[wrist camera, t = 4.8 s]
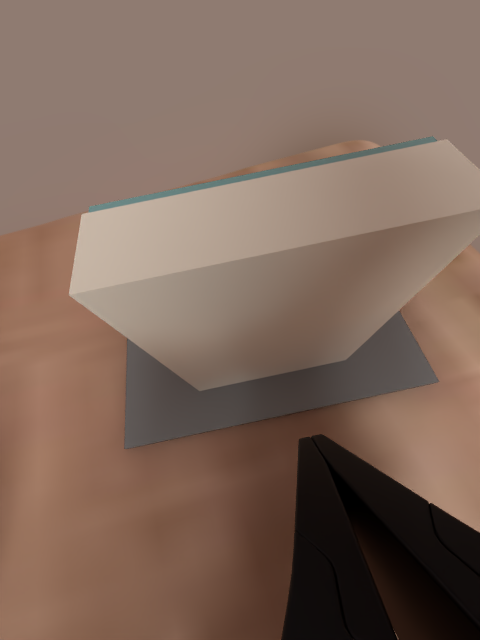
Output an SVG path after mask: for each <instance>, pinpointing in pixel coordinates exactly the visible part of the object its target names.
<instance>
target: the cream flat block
mask: <svg viewBox="0 0 480 640" xmlns="http://www.w3.org/2000/svg"><path fill="white" fill-rule="evenodd" d="M479 235H480V170H479V169H478V168H477V167H476V166H475V165H474V164H473V163H472V162H471V161H470V160H468V159H467V158H466V157H465V156H464V155H463V154H462V153H461V152H460V151H459V150H458V149H457V148H455V147H454V146H453V145H452V144H451V143H450V142H449V141H448V140H447V139H446V140H441V141H437V140H436V139H435V138H434V137H428V138H423V139H418V140H413V141H408V142H403V143H398V144H393V145H389V146H383V147H378V148H374V149H369V150H364V151H359V152H354V153H349V154H344V155H339V156H334V157H330V158H325V159H320V160H315V161H310V162H305V163H300V164H295V165H291V166H286V167H281V168H276V169H271V170H266V171H261V172H256V173H251V174H247V175H242V176H237V177H232V178H227V179H222V180H217V181H212V182H207V183H203V184H198V185H193V186H188V187H183V188H178V189H173V190H168V191H163V192H159V193H154V194H149V195H144V196H139V197H135V198H129V199H125V200H120V201H115V202H110V203H105V204H100V205H95V206H90V207H89V213H85V214H82V216H81V222H80V229H79V235H78V241H77V247H76V253H75V260H74V266H73V272H72V278H71V284H70V291H69V295H70V296H71V297H72V298H74V299H75V300H76V301H78V302H79V303H80V304H82V305H83V306H85V307H86V308H87V309H89V310H90V311H91V312H93V313H94V314H95V315H97V316H98V317H99V318H101V319H102V320H104V321H105V322H106V323H108V324H109V325H110V326H112V327H113V328H114V329H116V330H117V331H118V332H120V333H121V334H123V335H124V336H125V337H127V338H128V339H129V340H131V341H132V342H133V343H135V344H136V345H137V346H139V347H140V348H141V349H143V350H144V351H146V352H147V353H148V354H150V355H151V356H152V357H154V358H155V359H156V360H158V361H159V362H160V363H162V364H163V365H165V366H166V367H167V368H169V369H170V370H171V371H173V372H174V373H175V374H177V375H178V376H179V377H181V378H182V379H184V380H185V381H186V382H188V383H189V384H190V385H192V386H193V387H194V388H196V389H197V390H198V391H203V390H207V389H212V388H217V387H221V386H226V385H231V384H235V383H240V382H245V381H250V380H254V379H259V378H264V377H268V376H273V375H278V374H283V373H287V372H292V371H297V370H301V369H306V368H311V367H316V366H320V365H325V364H330V363H334V362H339V361H344V360H346V359H347V358H349V357H350V356H351V355H352V354H353V353H354V352H355V351H356V350H357V349H358V348H359V347H360V346H361V345H362V344H363V343H365V342H366V341H367V340H368V339H369V338H370V337H371V336H372V335H373V334H374V333H375V332H376V331H377V330H378V329H380V328H381V327H382V326H383V325H384V324H385V323H386V322H387V321H388V320H389V319H390V318H391V317H392V316H393V315H394V314H396V313H397V312H398V311H399V310H400V309H401V308H402V307H403V306H404V305H405V304H406V303H407V302H408V301H409V300H411V299H412V298H413V297H414V296H415V295H416V294H417V293H418V292H419V291H420V290H421V289H422V288H423V287H424V286H426V285H427V284H428V283H429V282H430V281H431V280H432V279H433V278H434V277H435V276H436V275H437V274H438V273H439V272H440V271H442V270H443V269H444V268H445V267H446V266H447V265H448V264H449V263H450V262H451V261H452V260H453V259H454V258H455V257H457V256H458V255H459V254H460V253H461V252H462V251H463V250H464V249H465V248H466V247H467V246H468V245H469V244H470V243H471V242H473V240H475V239H476V238H477V237H478V236H479Z"/></svg>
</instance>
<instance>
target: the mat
mask: <svg viewBox="0 0 480 640" xmlns="http://www.w3.org/2000/svg"><path fill="white" fill-rule="evenodd" d="M436 382H439V380H438V379H437V377H436V375H435V373H434V371H433V370H432V368H431V366H430V364H429V363H428V361H427V359H426V357H425V356H424V354H423V352H422V350H421V349H420V347H419V345H418V343H417V341H416V340H415V338H414V336H413V334H412V333H411V331H410V329H409V327H408V326H407V324H406V322H405V320H404V319H403V317H402V315H401V313H400V311H398V312H397V313H396V314H394V315H393V316H392V317H391V318H390V319H389V320H388V321H387V322H386V323H385V324H384V325H383V326H382V327H381V328H380V329H378V330H377V331H376V332H375V333H374V334H373V335H372V336H371V337H370V338H369V339H368V340H367V341H366V342H365V343H363V344H362V345H361V346H360V347H359V348H358V349H357V350H356V351H355V352H354V353H353V354H352V355H351V356H350V357H349V358H347V359H346V360H344V361H339V362H334V363H330V364H325V365H320V366H316V367H311V368H306V369H301V370H297V371H292V372H287V373H283V374H278V375H273V376H268V377H264V378H259V379H254V380H250V381H245V382H240V383H235V384H231V385H226V386H221V387H217V388H212V389H207V390H203V391H198V390H197V389H196V388H194V387H193V386H192V385H190V384H189V383H188V382H186V381H185V380H184V379H182V378H181V377H179V376H178V375H177V374H175V373H174V372H173V371H171V370H170V369H169V368H167V367H166V366H165V365H163V364H162V363H160V362H159V361H158V360H156V359H155V358H154V357H152V356H151V355H150V354H148V353H147V352H146V351H144V350H143V349H141V348H140V347H139V346H137V345H136V344H135V343H133V342H132V341H131V340H129V339H128V338H127V371H126V409H125V447H124V449H129V448H134V447H138V446H143V445H148V444H152V443H157V442H162V441H166V440H171V439H176V438H180V437H185V436H190V435H194V434H199V433H204V432H208V431H213V430H218V429H222V428H227V427H232V426H236V425H241V424H246V423H251V422H255V421H260V420H265V419H269V418H274V417H279V416H283V415H288V414H293V413H297V412H302V411H307V410H311V409H316V408H321V407H325V406H330V405H335V404H339V403H344V402H349V401H353V400H358V399H363V398H367V397H372V396H377V395H381V394H386V393H391V392H395V391H400V390H405V389H410V388H414V387H419V386H424V385H428V384H433V383H436Z"/></svg>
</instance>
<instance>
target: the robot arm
mask: <svg viewBox="0 0 480 640" xmlns="http://www.w3.org/2000/svg"><path fill="white" fill-rule="evenodd" d="M395 632H396V634H397V636H398V638H399V640H480V532H478V531H476V530H474V529H473V528H471V527H469V526H468V525H466V524H465V523H463V522H461V521H460V520H458V519H456V518H455V517H453V516H451V515H450V514H448V513H447V512H445V511H443V510H442V509H440V508H439V507H437V506H435V505H434V504H432V503H428V501H427V500H425V499H424V498H422V497H420V496H419V495H417V494H416V493H414V492H413V491H411V490H409V489H408V488H406V487H405V486H403V485H401V484H400V483H398V482H397V481H395V480H394V479H392V478H390V477H389V476H387V475H386V474H384V473H383V472H381V471H379V470H378V469H376V468H375V467H373V466H371V465H370V464H368V463H367V462H365V461H364V460H362V459H360V458H359V457H357V456H356V455H354V454H353V453H351V452H349V451H348V450H346V449H345V448H343V447H342V446H340V445H338V444H337V443H335V442H334V441H332V440H330V439H329V438H327V437H326V436H324V435H322V434H320V435H315V436H312V437H311V438H310V437H306V438H301V439H299V445H298V467H297V489H296V511H295V533H294V549H293V562H292V574H291V581H290V588H289V595H288V603H287V609H286V615H285V621H284V627H283V633H282V639H281V640H398V639H397V636H396V634H395Z"/></svg>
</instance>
